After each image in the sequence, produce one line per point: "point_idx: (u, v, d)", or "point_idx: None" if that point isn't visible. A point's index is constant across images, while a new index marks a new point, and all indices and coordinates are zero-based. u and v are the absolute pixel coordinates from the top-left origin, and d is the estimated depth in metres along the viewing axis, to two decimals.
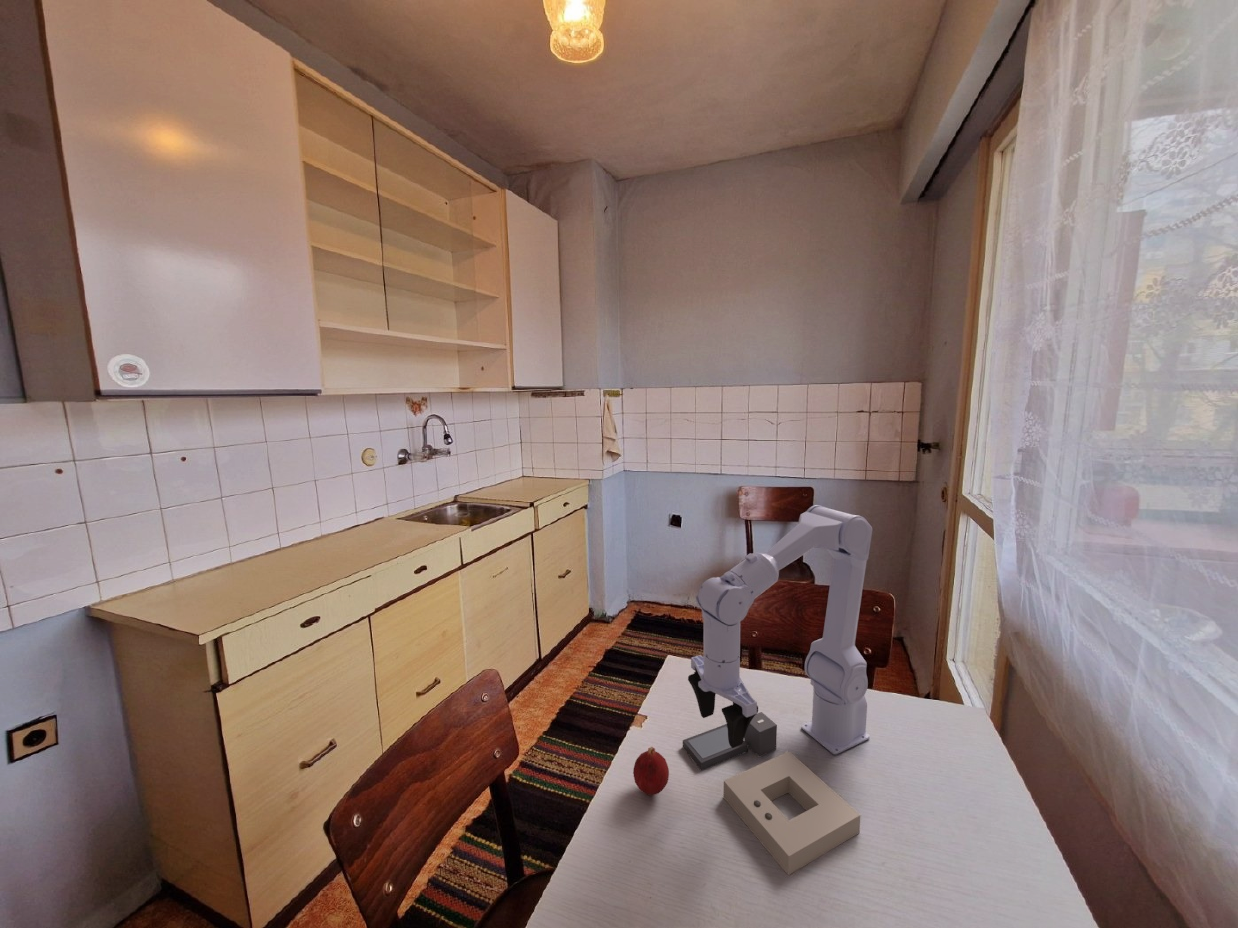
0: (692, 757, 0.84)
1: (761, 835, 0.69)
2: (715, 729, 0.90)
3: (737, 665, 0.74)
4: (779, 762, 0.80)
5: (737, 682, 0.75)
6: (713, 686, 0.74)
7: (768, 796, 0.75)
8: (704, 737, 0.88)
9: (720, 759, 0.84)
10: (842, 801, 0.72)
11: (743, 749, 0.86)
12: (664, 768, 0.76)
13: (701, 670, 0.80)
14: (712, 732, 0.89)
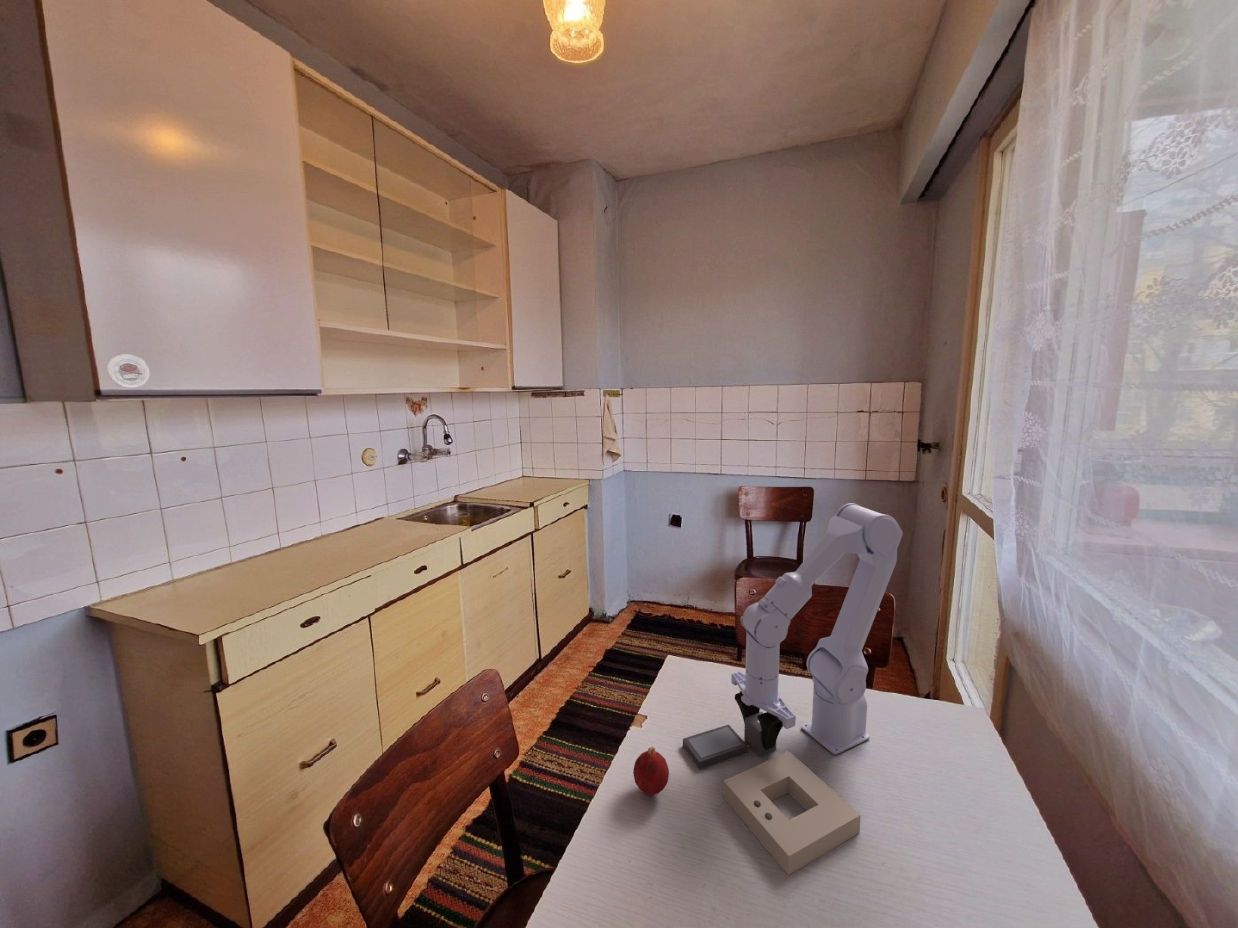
0: (691, 756, 0.85)
1: (761, 835, 0.69)
2: (716, 729, 0.90)
3: (776, 682, 0.83)
4: (779, 762, 0.80)
5: (776, 697, 0.84)
6: (755, 700, 0.84)
7: (768, 796, 0.75)
8: (704, 736, 0.88)
9: (719, 759, 0.84)
10: (842, 801, 0.72)
11: (743, 750, 0.85)
12: (664, 768, 0.76)
13: (742, 685, 0.89)
14: (712, 732, 0.89)
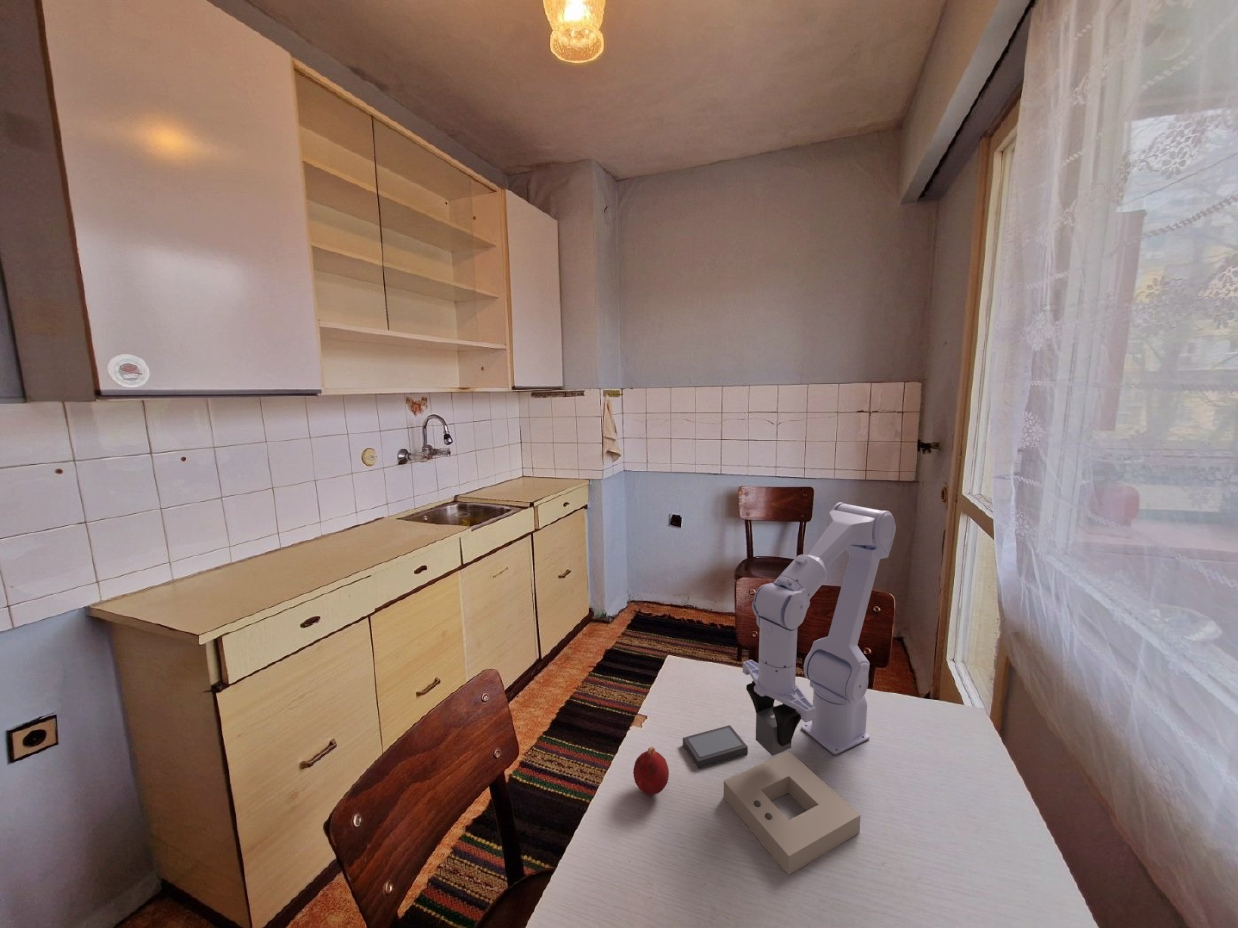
0: (690, 755, 0.85)
1: (761, 835, 0.69)
2: (717, 729, 0.90)
3: (794, 670, 0.75)
4: (779, 762, 0.80)
5: (793, 687, 0.75)
6: (769, 691, 0.75)
7: (768, 796, 0.75)
8: (704, 736, 0.88)
9: (718, 759, 0.84)
10: (842, 801, 0.72)
11: (743, 751, 0.85)
12: (664, 768, 0.76)
13: (754, 675, 0.80)
14: (713, 732, 0.89)
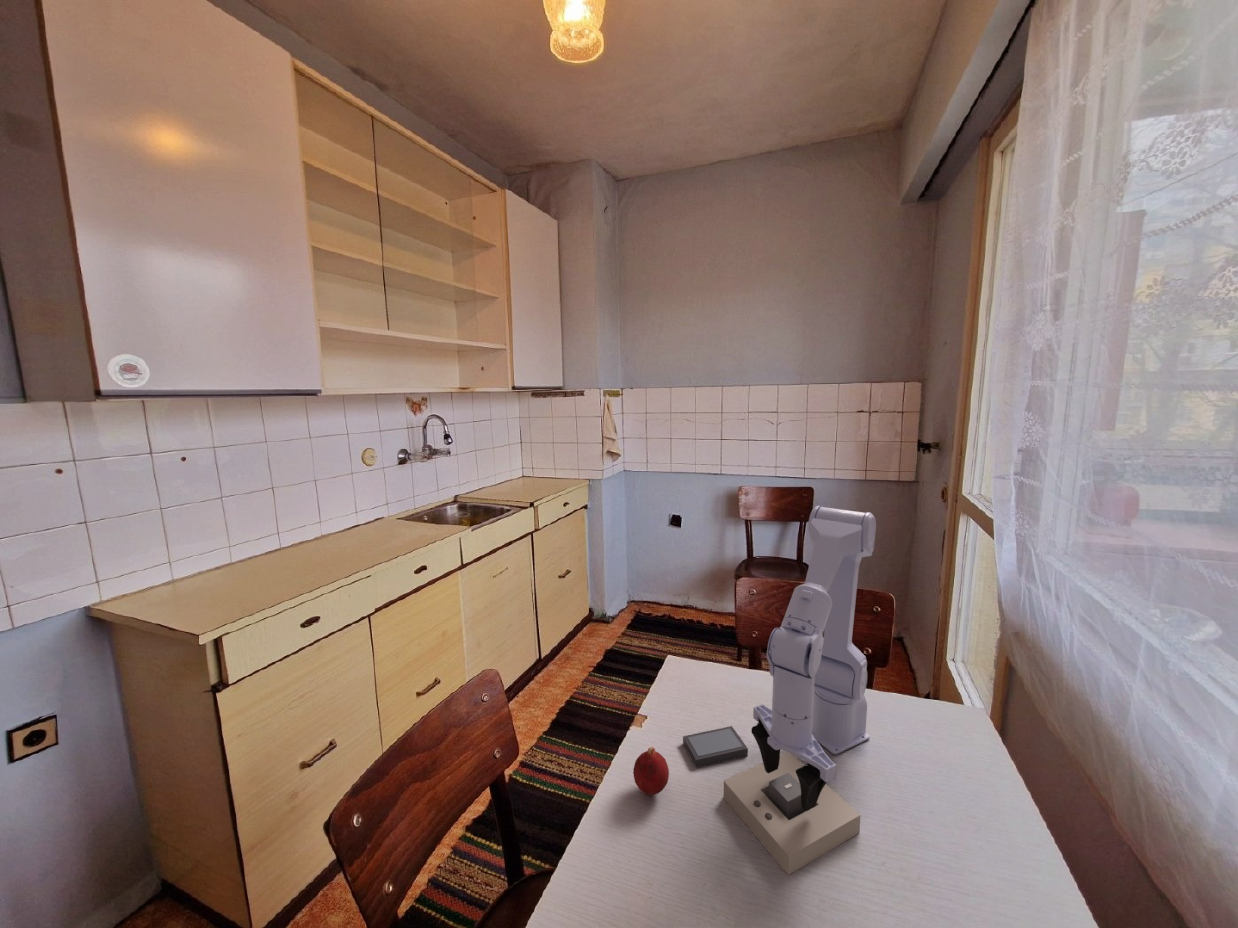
0: (689, 754, 0.85)
1: (761, 835, 0.69)
2: (718, 730, 0.90)
3: (811, 722, 0.69)
4: (779, 762, 0.80)
5: (810, 739, 0.69)
6: (785, 744, 0.69)
7: None
8: (705, 736, 0.88)
9: (717, 759, 0.84)
10: (842, 801, 0.72)
11: (743, 752, 0.85)
12: (664, 768, 0.76)
13: (767, 723, 0.74)
14: (714, 732, 0.89)
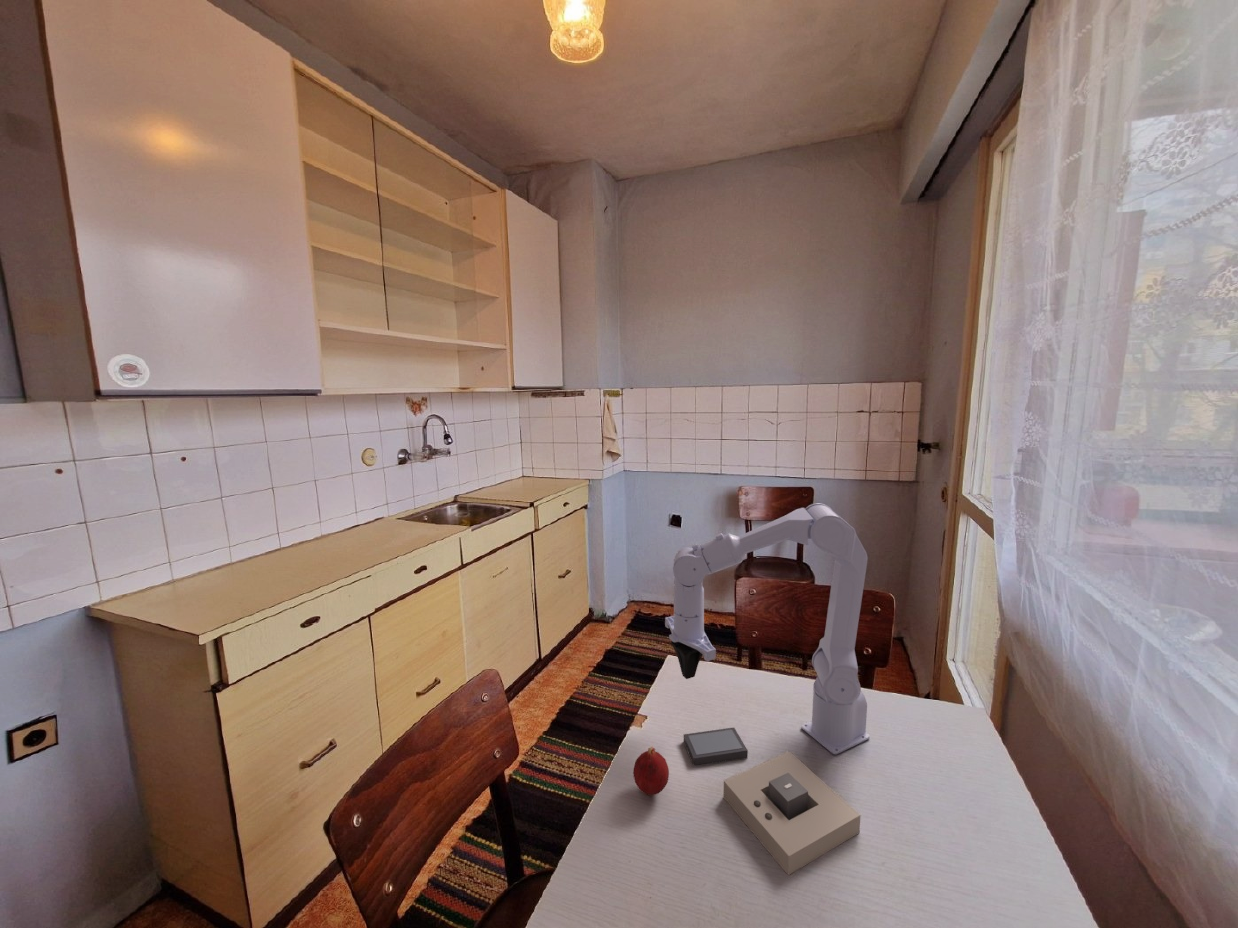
0: (688, 752, 0.86)
1: (761, 835, 0.69)
2: (720, 730, 0.89)
3: (701, 620, 0.89)
4: (779, 762, 0.80)
5: (701, 634, 0.90)
6: (681, 638, 0.89)
7: None
8: (705, 735, 0.88)
9: (715, 759, 0.84)
10: (842, 801, 0.72)
11: (742, 754, 0.84)
12: (664, 768, 0.76)
13: (673, 627, 0.95)
14: (715, 732, 0.89)
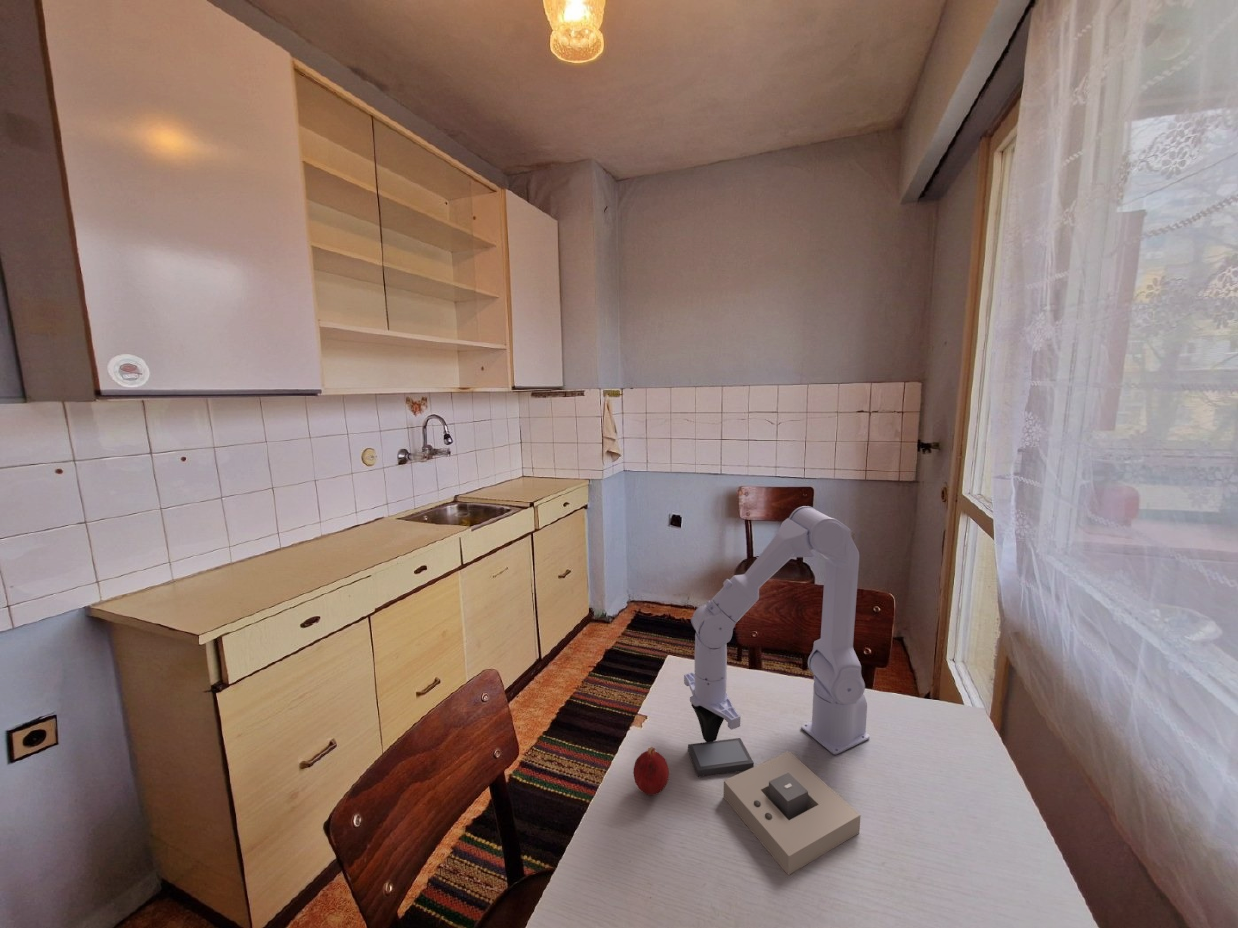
0: (693, 763, 0.83)
1: (761, 835, 0.69)
2: (725, 741, 0.87)
3: (724, 683, 0.84)
4: (779, 762, 0.80)
5: (724, 698, 0.85)
6: (702, 701, 0.84)
7: None
8: (710, 746, 0.86)
9: (720, 771, 0.81)
10: (842, 801, 0.72)
11: (748, 766, 0.82)
12: (664, 768, 0.76)
13: (693, 686, 0.90)
14: (720, 743, 0.86)
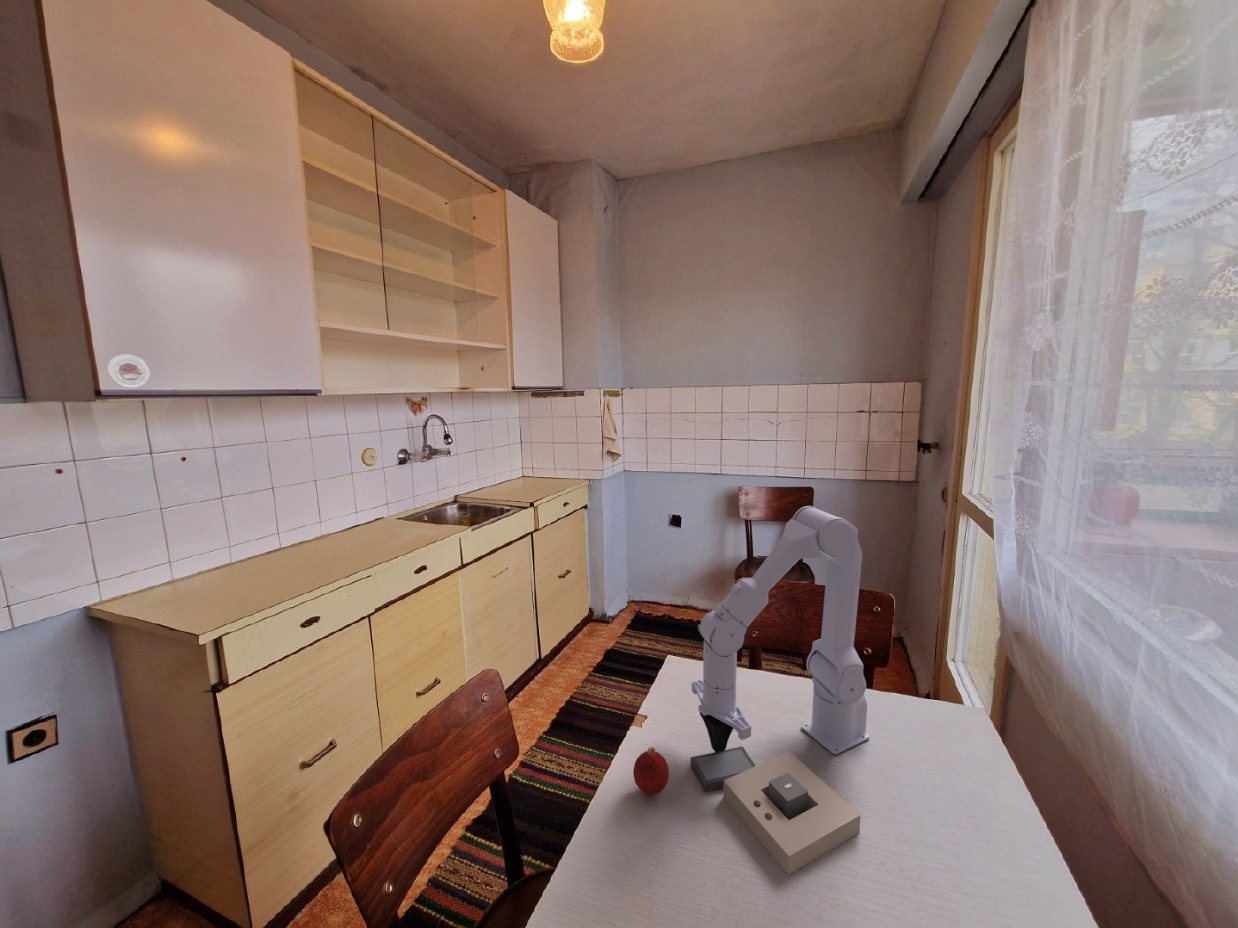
0: (697, 777, 0.80)
1: (761, 835, 0.69)
2: (728, 750, 0.84)
3: (734, 691, 0.82)
4: (779, 762, 0.80)
5: (734, 706, 0.82)
6: (712, 710, 0.82)
7: None
8: (714, 757, 0.83)
9: None
10: (842, 801, 0.72)
11: None
12: (664, 768, 0.76)
13: (701, 694, 0.87)
14: (723, 753, 0.84)
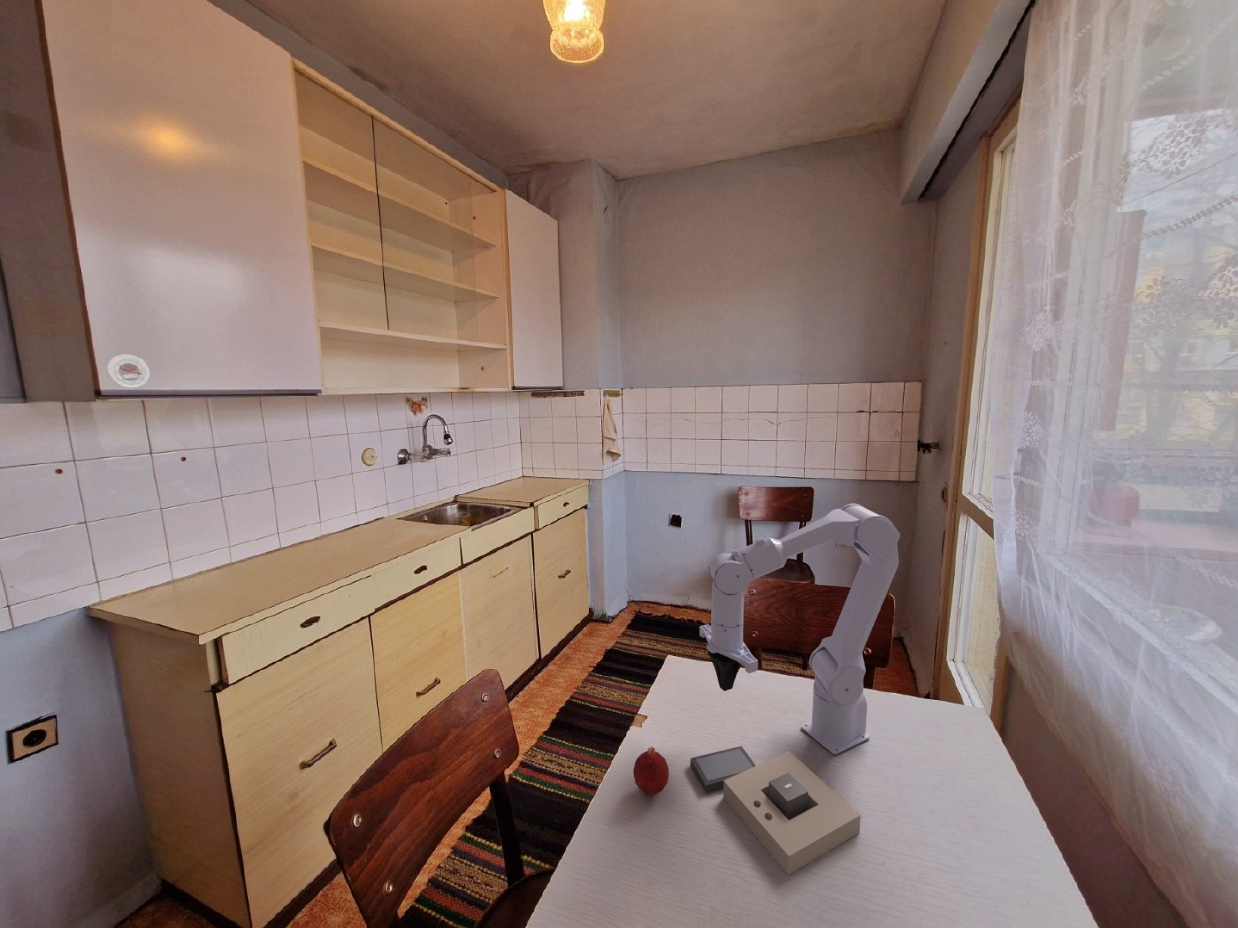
0: (698, 777, 0.80)
1: (761, 835, 0.69)
2: (727, 750, 0.84)
3: (741, 630, 0.85)
4: (779, 762, 0.80)
5: (741, 645, 0.85)
6: (720, 648, 0.85)
7: None
8: (713, 757, 0.83)
9: None
10: (842, 801, 0.72)
11: None
12: (664, 768, 0.76)
13: (709, 636, 0.90)
14: (723, 753, 0.84)
